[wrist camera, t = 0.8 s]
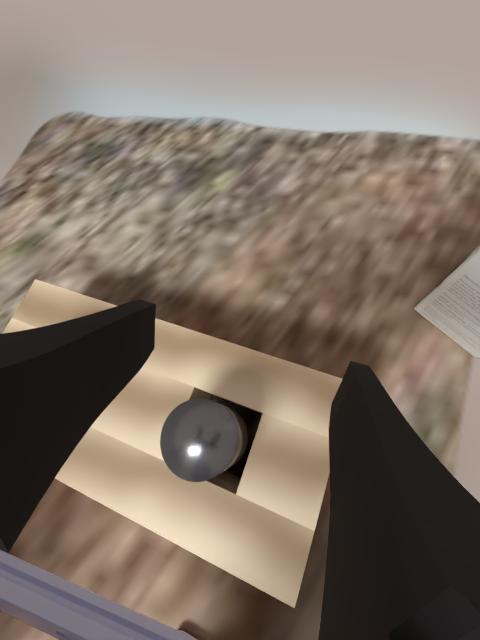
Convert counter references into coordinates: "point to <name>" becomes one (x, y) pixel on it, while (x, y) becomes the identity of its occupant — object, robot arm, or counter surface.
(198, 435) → the steel peg
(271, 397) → the maple peg block
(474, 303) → the skincare box
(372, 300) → the counter surface
